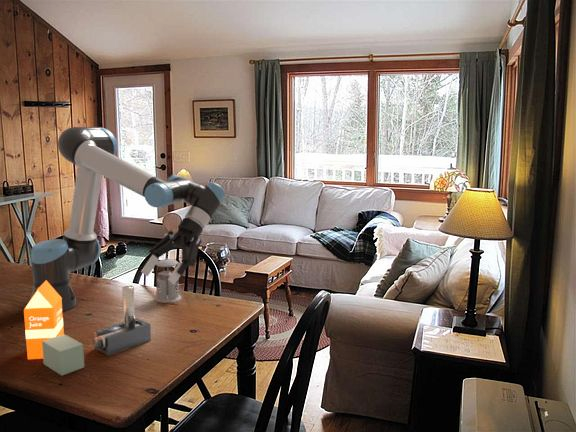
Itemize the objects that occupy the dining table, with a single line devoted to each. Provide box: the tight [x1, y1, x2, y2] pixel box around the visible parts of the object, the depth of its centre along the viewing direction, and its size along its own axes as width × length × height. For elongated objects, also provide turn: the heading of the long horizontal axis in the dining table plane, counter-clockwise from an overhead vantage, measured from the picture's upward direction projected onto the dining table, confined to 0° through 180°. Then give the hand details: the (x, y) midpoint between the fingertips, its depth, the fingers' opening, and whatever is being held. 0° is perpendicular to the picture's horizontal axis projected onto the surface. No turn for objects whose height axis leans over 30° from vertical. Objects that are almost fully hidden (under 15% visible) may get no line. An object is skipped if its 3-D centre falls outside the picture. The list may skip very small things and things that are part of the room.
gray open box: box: [93, 317, 152, 357], centre depth 150 cm, size 14×7×5 cm, turn 141°
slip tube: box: [92, 285, 140, 351], centre depth 147 cm, size 14×4×16 cm, turn 141°
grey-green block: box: [42, 333, 85, 376], centre depth 136 cm, size 6×10×7 cm, turn 51°
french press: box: [154, 233, 182, 304], centre depth 188 cm, size 10×12×25 cm
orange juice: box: [23, 280, 65, 360], centre depth 143 cm, size 8×9×20 cm
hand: (157, 278), depth 156 cm, fingers open, 13 cm apart
